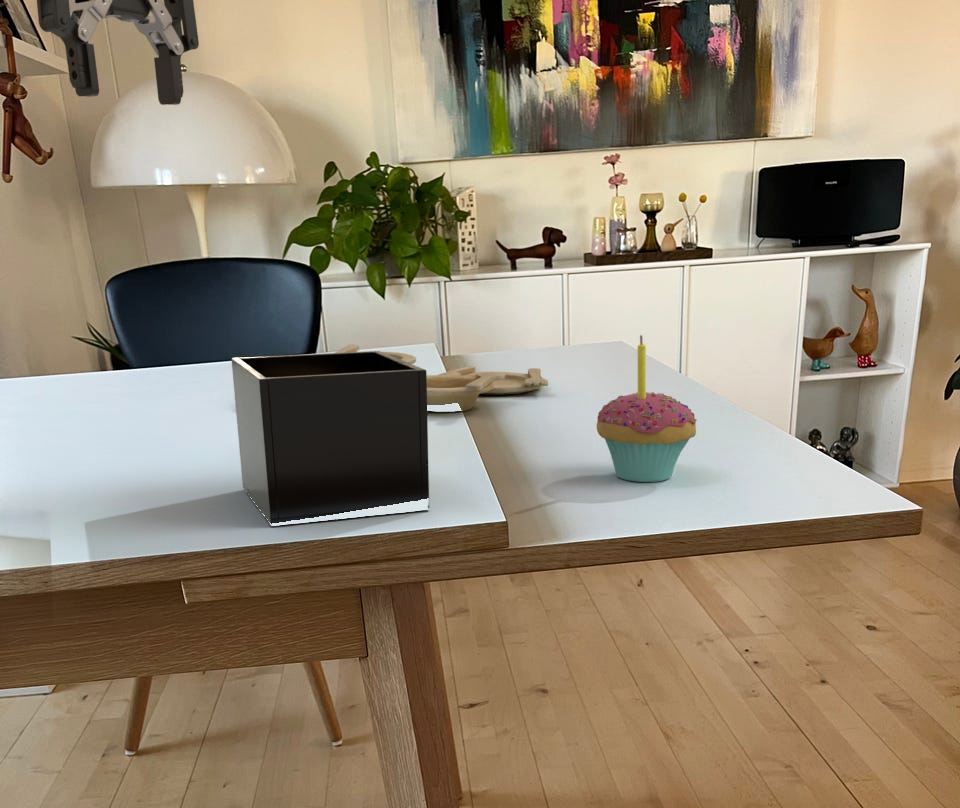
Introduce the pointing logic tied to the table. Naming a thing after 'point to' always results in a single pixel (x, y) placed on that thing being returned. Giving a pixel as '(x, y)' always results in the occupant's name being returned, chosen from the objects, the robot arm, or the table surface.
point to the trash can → (331, 432)
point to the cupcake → (645, 430)
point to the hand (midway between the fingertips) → (130, 100)
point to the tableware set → (470, 382)
